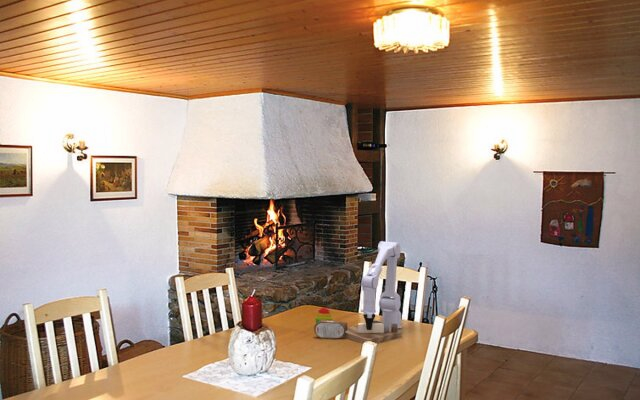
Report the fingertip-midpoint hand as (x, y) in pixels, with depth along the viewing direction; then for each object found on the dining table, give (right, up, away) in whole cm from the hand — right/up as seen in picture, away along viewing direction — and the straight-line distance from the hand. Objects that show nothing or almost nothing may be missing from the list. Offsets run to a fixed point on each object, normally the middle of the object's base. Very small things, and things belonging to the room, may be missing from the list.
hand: (369, 329), depth 278 cm
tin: (-18, -5, +2) cm, 19 cm away
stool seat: (+1, -4, +5) cm, 7 cm away
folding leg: (+2, -2, +2) cm, 4 cm away
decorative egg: (-21, -4, +21) cm, 30 cm away
